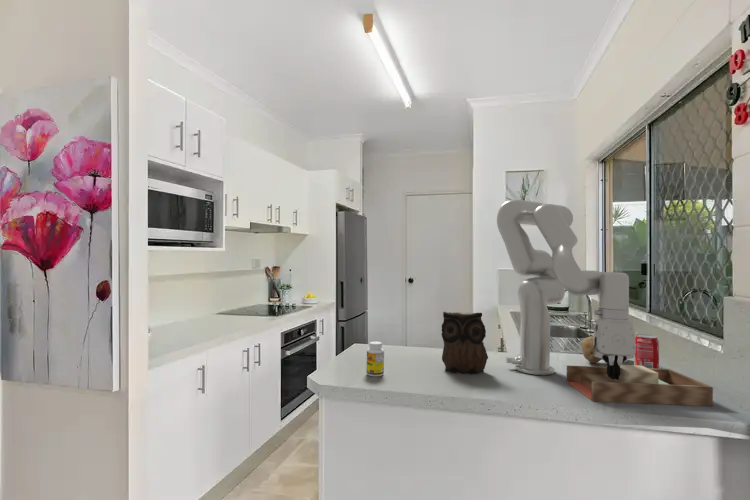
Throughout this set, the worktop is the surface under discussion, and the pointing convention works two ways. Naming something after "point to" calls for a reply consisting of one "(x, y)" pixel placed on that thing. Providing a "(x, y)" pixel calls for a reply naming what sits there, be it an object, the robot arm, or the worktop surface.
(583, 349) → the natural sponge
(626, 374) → the birch block
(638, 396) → the wooden tray
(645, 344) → the soda can
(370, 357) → the supplement bottle
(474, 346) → the owl
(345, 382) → the worktop surface
